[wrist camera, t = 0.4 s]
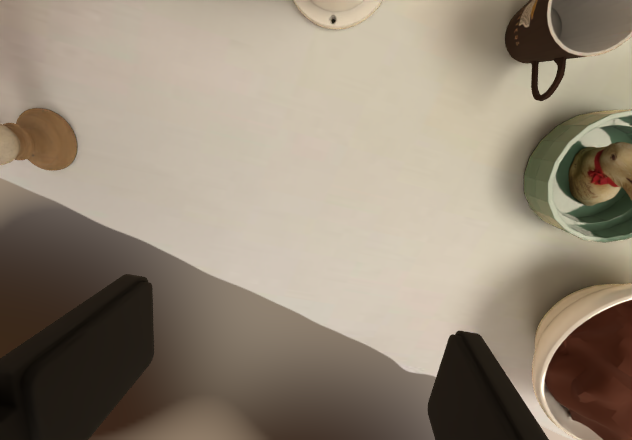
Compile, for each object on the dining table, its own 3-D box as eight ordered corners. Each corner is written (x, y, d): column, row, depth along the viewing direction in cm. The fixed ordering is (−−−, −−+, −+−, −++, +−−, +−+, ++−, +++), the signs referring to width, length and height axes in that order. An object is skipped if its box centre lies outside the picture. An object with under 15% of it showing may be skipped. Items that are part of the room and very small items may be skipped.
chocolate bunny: (623, 148, 39) (713, 156, 29) (591, 206, 41) (665, 231, 32) (580, 137, 39) (656, 142, 29) (551, 196, 41) (613, 218, 32)
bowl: (543, 105, 39) (574, 102, 33) (670, 118, 38) (723, 117, 33) (508, 220, 43) (530, 233, 38) (620, 234, 42) (659, 249, 37)
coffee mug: (536, -28, 35) (609, -84, 25) (589, 24, 36) (679, -13, 26) (461, 64, 38) (500, 45, 29) (511, 109, 39) (565, 104, 30)
